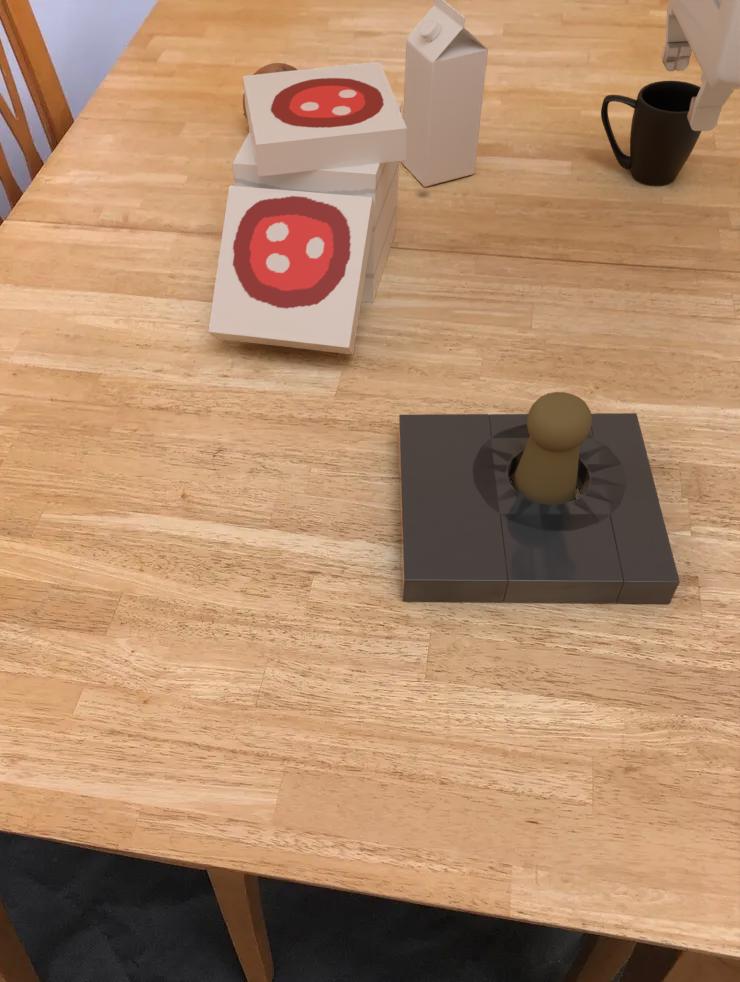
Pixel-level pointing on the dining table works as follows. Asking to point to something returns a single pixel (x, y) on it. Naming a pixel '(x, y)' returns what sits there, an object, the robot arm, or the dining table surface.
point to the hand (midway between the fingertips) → (686, 95)
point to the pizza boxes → (309, 207)
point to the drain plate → (528, 517)
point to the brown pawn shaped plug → (553, 448)
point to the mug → (656, 131)
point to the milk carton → (442, 96)
